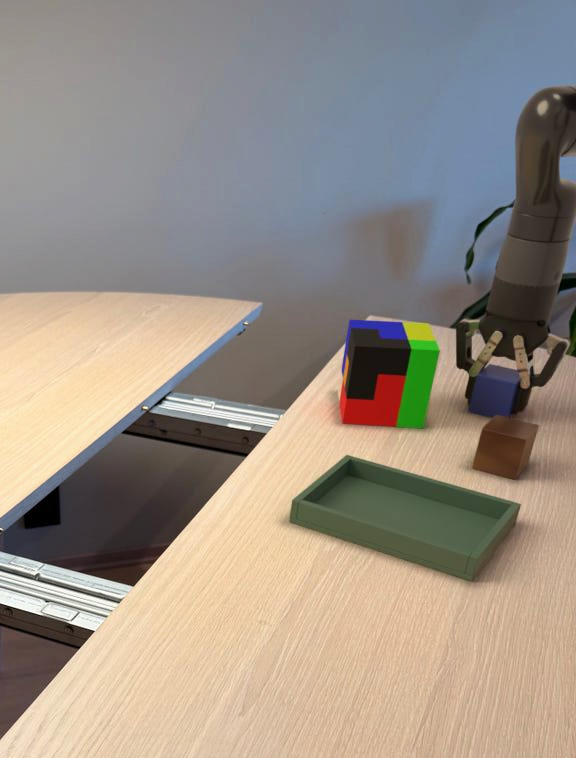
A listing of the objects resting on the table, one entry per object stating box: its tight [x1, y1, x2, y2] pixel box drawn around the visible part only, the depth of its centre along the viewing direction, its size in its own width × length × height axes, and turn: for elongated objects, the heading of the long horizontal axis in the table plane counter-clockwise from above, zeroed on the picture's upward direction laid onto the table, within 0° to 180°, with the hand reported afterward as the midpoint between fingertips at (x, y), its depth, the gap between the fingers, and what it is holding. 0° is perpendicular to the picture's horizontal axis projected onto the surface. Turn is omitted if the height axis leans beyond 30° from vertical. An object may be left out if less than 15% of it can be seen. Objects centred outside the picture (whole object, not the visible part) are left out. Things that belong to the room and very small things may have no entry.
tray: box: [288, 454, 522, 582], centre depth 103 cm, size 20×14×3 cm
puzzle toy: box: [337, 319, 441, 429], centre depth 125 cm, size 10×10×10 cm
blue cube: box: [467, 363, 520, 419], centre depth 127 cm, size 5×5×5 cm
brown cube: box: [471, 415, 540, 480], centre depth 114 cm, size 5×5×5 cm
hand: (493, 407), depth 128 cm, fingers closed on blue cube, 5 cm apart
